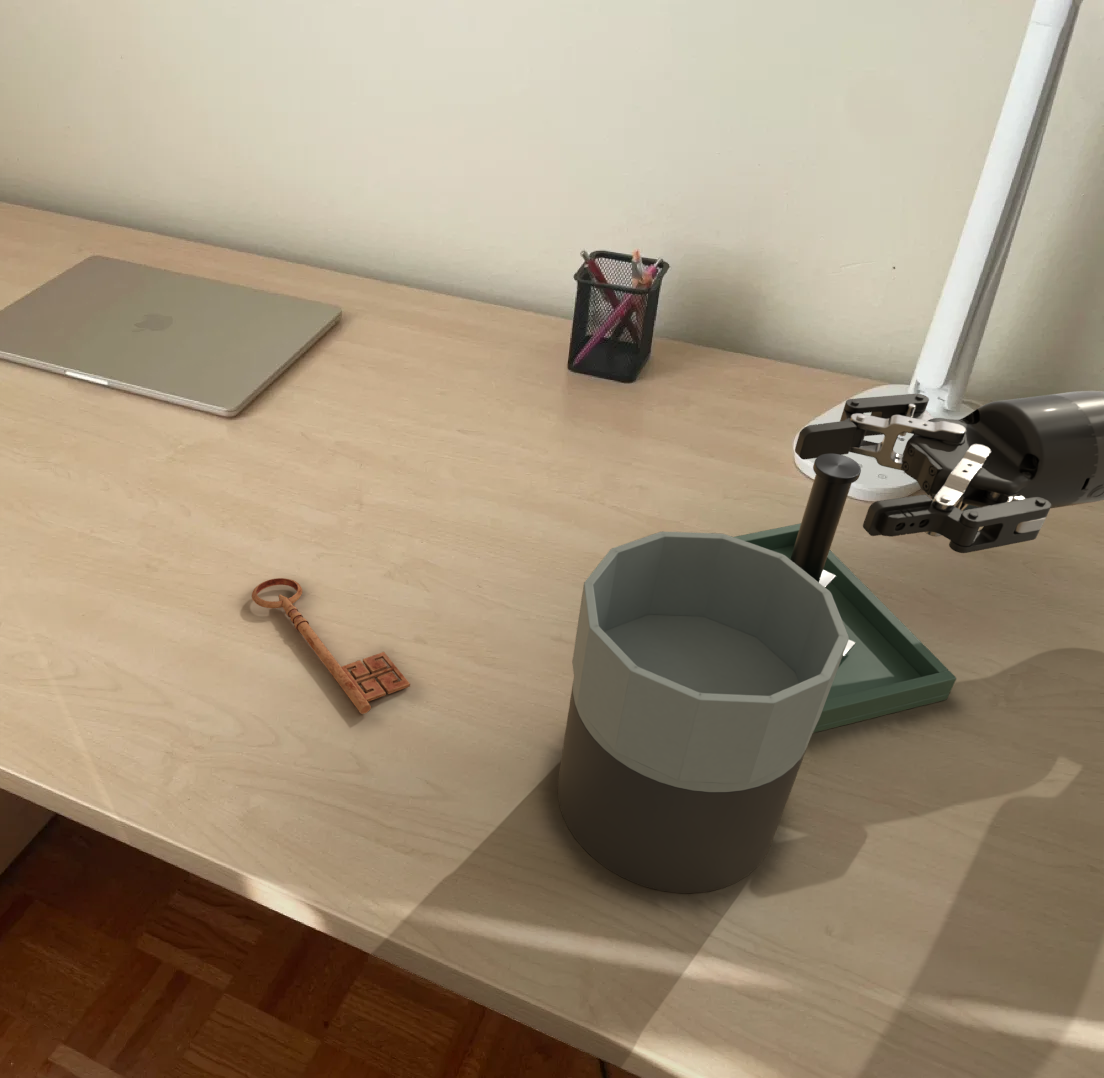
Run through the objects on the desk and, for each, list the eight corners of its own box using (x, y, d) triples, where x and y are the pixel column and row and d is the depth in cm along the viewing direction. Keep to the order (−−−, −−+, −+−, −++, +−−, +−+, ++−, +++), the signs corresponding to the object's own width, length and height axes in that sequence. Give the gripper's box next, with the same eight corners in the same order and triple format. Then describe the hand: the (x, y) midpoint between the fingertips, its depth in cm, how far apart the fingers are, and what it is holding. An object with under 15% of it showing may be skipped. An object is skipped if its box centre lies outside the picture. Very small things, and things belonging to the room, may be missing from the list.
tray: (947, 699, 71) (957, 677, 70) (768, 744, 68) (776, 722, 67) (797, 543, 84) (803, 522, 83) (642, 574, 81) (646, 553, 80)
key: (413, 696, 72) (313, 572, 82) (415, 686, 71) (313, 562, 82) (338, 723, 69) (244, 592, 80) (339, 714, 69) (244, 583, 79)
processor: (821, 840, 62) (901, 648, 53) (643, 929, 58) (693, 738, 48) (681, 694, 72) (726, 508, 62) (517, 762, 67) (538, 573, 57)
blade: (874, 624, 76) (937, 463, 67) (817, 691, 71) (876, 526, 62) (760, 569, 81) (804, 412, 72) (698, 627, 76) (738, 467, 67)
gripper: (1006, 349, 73) (791, 374, 71) (1163, 463, 62) (915, 497, 60) (969, 440, 78) (766, 466, 76) (1109, 561, 67) (877, 596, 65)
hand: (832, 480), depth 68 cm, fingers open, 8 cm apart
